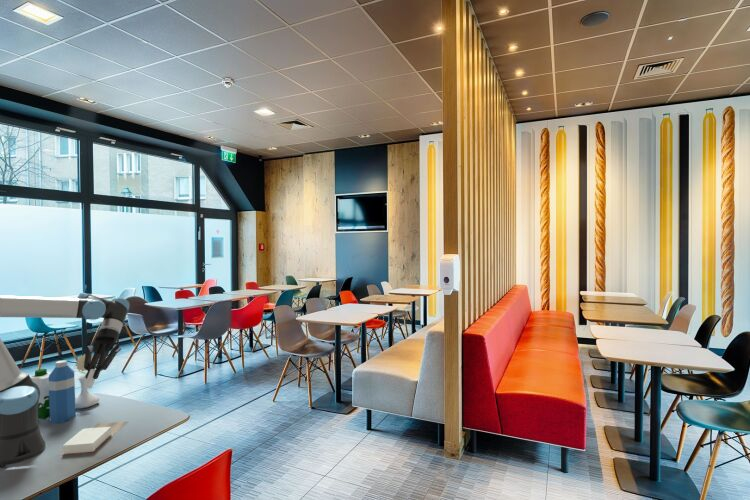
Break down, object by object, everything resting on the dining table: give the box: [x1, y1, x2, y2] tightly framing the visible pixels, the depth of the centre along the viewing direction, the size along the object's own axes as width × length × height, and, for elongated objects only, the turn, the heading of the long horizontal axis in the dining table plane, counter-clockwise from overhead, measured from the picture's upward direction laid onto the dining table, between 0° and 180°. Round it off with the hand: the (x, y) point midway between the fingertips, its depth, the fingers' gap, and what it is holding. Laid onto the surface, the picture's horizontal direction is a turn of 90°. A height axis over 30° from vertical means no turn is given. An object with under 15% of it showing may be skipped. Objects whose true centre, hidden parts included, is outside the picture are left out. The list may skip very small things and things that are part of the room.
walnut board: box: [58, 421, 129, 456], centre depth 156 cm, size 12×25×1 cm, turn 7°
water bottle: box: [49, 359, 77, 424], centre depth 174 cm, size 9×9×25 cm
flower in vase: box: [75, 353, 100, 410], centre depth 187 cm, size 13×11×25 cm
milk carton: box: [30, 368, 52, 420], centre depth 178 cm, size 9×9×20 cm
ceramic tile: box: [62, 427, 111, 455], centre depth 150 cm, size 3×10×13 cm
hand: (87, 386), depth 151 cm, fingers closed
